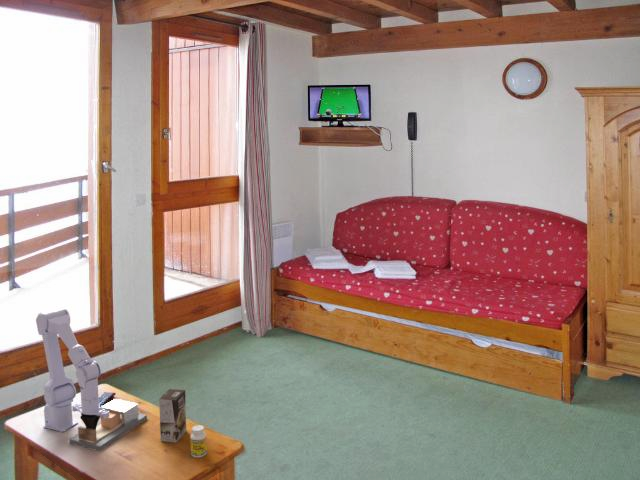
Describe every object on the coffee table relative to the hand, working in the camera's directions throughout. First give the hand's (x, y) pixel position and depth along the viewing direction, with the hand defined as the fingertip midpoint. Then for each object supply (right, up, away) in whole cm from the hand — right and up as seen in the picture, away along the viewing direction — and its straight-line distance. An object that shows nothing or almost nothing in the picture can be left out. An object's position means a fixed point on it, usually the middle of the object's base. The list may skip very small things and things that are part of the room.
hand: (92, 433), depth 229 cm
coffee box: (+27, -3, +6) cm, 28 cm away
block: (+4, 0, +9) cm, 10 cm away
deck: (+3, -2, +9) cm, 10 cm away
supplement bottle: (+39, -5, -6) cm, 39 cm away
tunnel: (+6, +1, +14) cm, 15 cm away
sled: (+2, -1, +5) cm, 5 cm away
